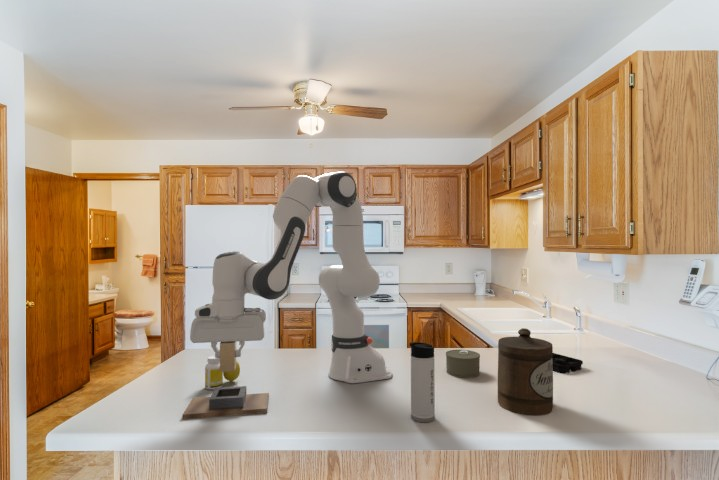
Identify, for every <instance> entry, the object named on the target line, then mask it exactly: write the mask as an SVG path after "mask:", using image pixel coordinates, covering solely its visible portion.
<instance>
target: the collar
mask: <svg viewBox="0 0 719 480" xmlns="http://www.w3.org/2000/svg"><path fill="white" fill-rule="evenodd" d="M246 394H247V385H246V386H245V385H243V386H229V387H228V386H227V387H221V388H215V389H214V390H212V392H211V396H209V397H210V399H209V410H223V409H237V408H243V407H244V403H245V400H246Z"/></svg>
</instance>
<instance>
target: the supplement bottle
mask: <svg viewBox="0 0 719 480" xmlns="http://www.w3.org/2000/svg"><path fill="white" fill-rule="evenodd" d="M204 372H205V373H204V386H205V387H204V388H205V389H206V390H212V391H214V389H215V388H223V382H224V381H223V380H224V375H223V372H220V358H215V355H211V356H208V357H207V364H206V365H205V368H204Z"/></svg>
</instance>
